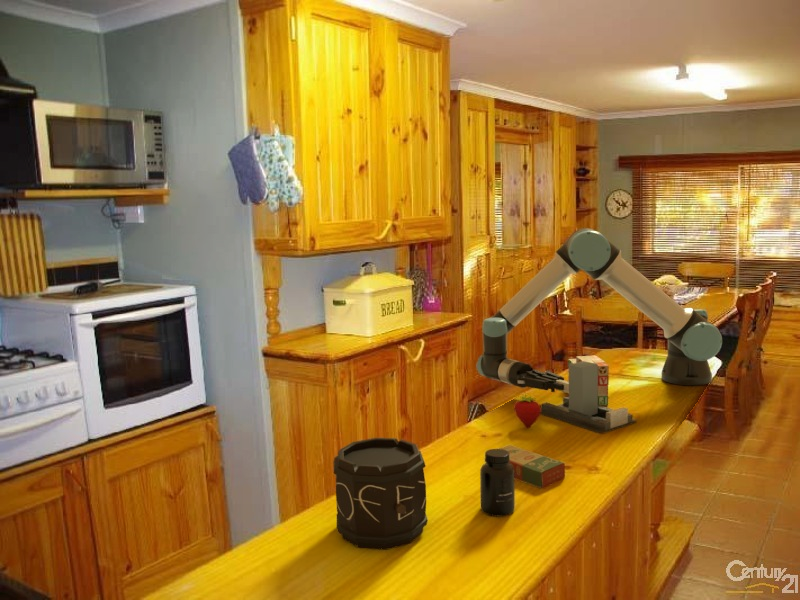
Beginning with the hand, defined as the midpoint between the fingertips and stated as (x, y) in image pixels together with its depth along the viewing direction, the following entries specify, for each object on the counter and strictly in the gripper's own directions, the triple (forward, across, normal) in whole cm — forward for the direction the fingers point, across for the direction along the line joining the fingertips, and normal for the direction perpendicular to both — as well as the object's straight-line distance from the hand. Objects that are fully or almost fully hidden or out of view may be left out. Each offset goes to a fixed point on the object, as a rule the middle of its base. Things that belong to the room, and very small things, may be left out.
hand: (574, 389), depth 200 cm
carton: (+22, +40, -8) cm, 46 cm away
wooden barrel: (+25, +80, -8) cm, 84 cm away
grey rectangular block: (+3, 0, -7) cm, 8 cm away
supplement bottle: (+32, +57, -8) cm, 65 cm away
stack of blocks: (-10, -17, -8) cm, 21 cm away
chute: (+4, 0, -7) cm, 8 cm away
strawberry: (0, +18, -8) cm, 19 cm away
